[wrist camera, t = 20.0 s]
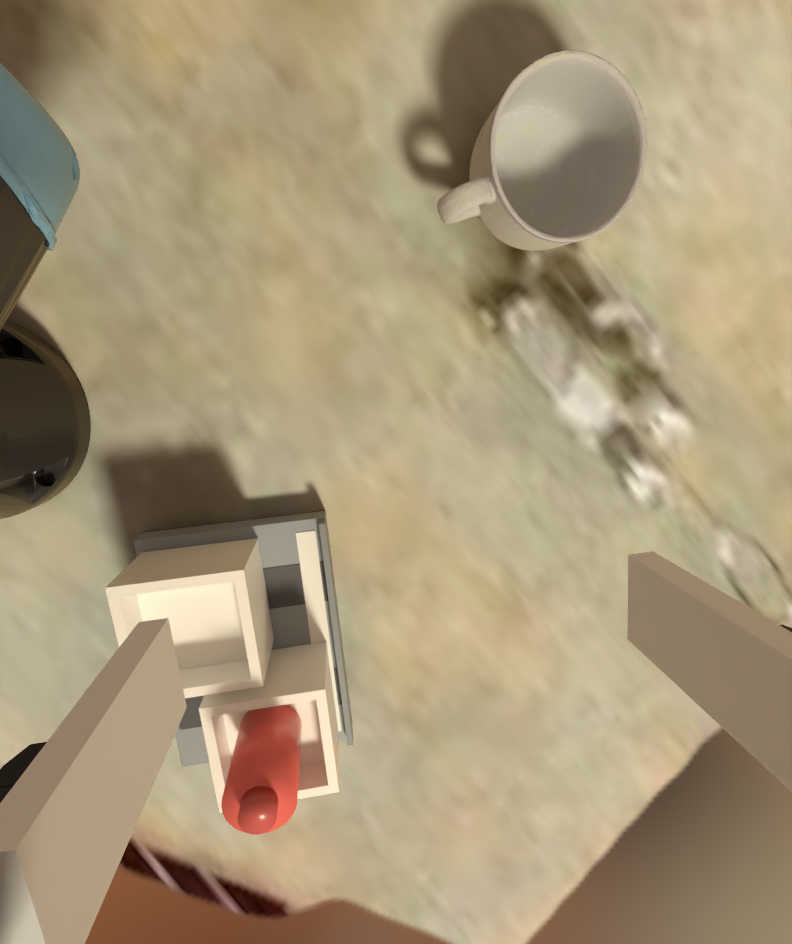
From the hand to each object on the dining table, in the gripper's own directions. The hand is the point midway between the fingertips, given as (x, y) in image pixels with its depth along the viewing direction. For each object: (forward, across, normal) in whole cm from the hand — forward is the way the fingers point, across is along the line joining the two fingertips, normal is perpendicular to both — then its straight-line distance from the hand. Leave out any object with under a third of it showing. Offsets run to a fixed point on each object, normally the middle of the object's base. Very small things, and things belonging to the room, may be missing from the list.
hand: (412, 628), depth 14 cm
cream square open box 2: (+27, -9, -20) cm, 35 cm away
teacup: (+29, +14, +19) cm, 37 cm away
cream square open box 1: (+27, -14, -10) cm, 31 cm away
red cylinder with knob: (+22, -10, -20) cm, 32 cm away
